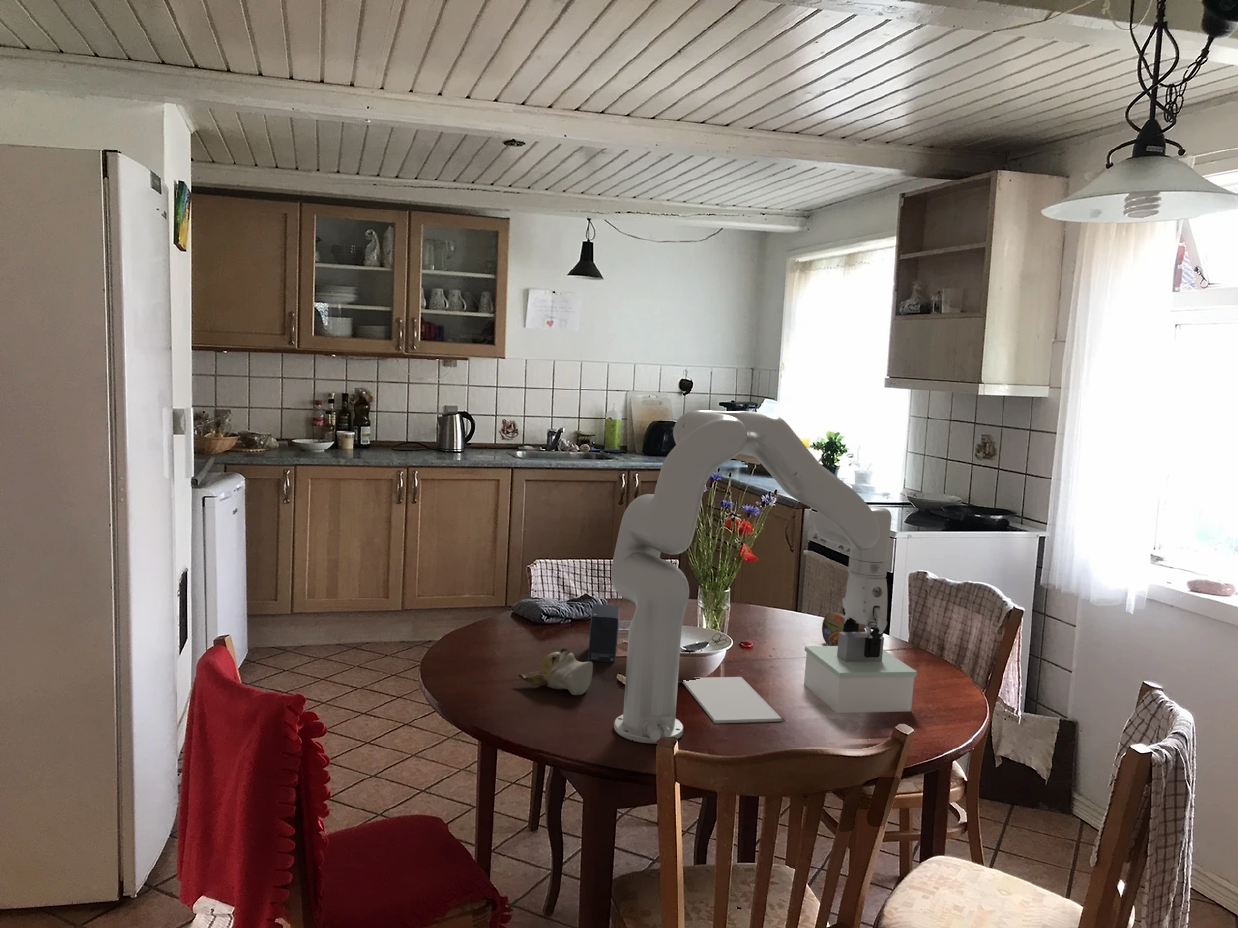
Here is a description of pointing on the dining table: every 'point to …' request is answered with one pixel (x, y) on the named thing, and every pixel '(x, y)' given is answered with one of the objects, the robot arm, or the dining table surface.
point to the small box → (603, 633)
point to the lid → (858, 659)
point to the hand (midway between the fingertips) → (860, 649)
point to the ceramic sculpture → (562, 673)
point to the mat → (731, 700)
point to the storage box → (858, 690)
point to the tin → (834, 628)
